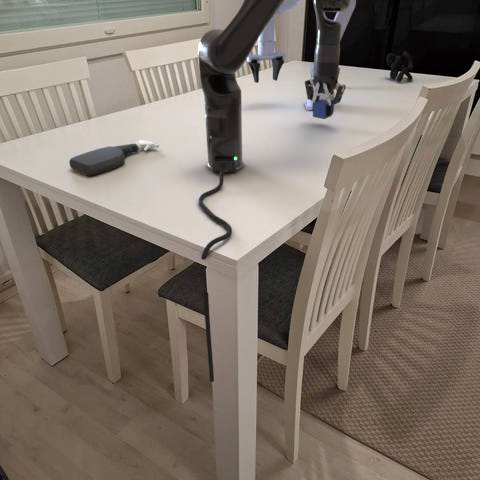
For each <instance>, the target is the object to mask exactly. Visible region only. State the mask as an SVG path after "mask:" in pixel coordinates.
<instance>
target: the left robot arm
mask: <svg viewBox="0 0 480 480" xmlns="http://www.w3.org/2000/svg"><path fill="white" fill-rule="evenodd" d="M283 1H284V0H243V2H242V4H241V6H240V7H239V10H238V11H237V13H236V14H235V16H234V17H233V18H232V19H231V21H230V22H229V23H228V24H227V26H226V27H225V28H224V29H220V28H214V29H213V28H212V29H209V30H208V31H206V32H205V33H204V34H203V35H202V37H201V38H200V40H199V43H198V47H197V48H198V50H197V58H198V69H199V80H200V88H201V90H202V94H203V98H204V100H203V101H204V116H205V117H204V118H205V133H206V134H205V135H206V151H207V152H206V153H207V168H208V169H209V170H211V172H212V173H219V183H218V184H217V186H216V187H214V188H212V189H209V190H208V191H207V190H206V191H205V192H203V193H202V194H201V195H200V196H199V197H198V204H199V206H200V208H201V209H202V210H203V211H204V212H205V213H206V214H207V215H208V216H209V217H210V218H211V220H214V221H215V222H217V223H219V224H220V225H222V226H224V227H225V228H226V233H224V234H223V235H222V234H221V235H219V236H218V237H215V238H213V239H212V240H210V241H209V242H208V243H207V244H206V245H205V247H204V249H203V251H202V254H201V260H203V261H205V260H206V259H207V257H208V254H209V251H210V250H211V249H212V247H214V246H215V245H216V244H218V243H220V242H222V241H225V240H227V239H228V238H230V237H231V236H232V234H233V233H232V232H233V229H232V226H231V225H230V223H228V222H227V221H226V220H224V219H222V218H221V217H219V216H218V215H215V213H213V212H212V211H211V210H210V209H209V208H208V207H207V205H205V203H204V199H205V198H206V197H208V196H210V195H213V194H215V193H217V192H218V191H220V190H221V189H222V187H223V185H224V175H225V173H237V171H239V170H240V169H242V168H243V166H244V162H243V161H244V160H243V114H242V113H243V109H242V108H243V106H242V105H243V104H242V103H243V102H242V101H243V100H242V99H243V98H242V96H243V95H242V89H241V87H240V86H239V84H238V81H237V78H236V73H237V72H238V71H240V69H241V68H242V67H243V65H244V64H245V63H246V62H247V58H248V56H249V55H251V52H252V50H253V49H254V47H255V45H256V44H257V43H258V38H259V36H260V35H261V33H262V31H263V30H264V28H265V27H266V25H267V24H268V23H269V21H270V20H271V18H272V17H273V16H274V14H275V13H276V11H277V10H278V8H279V7H280V6H281V4H282V3H283ZM350 1H351V0H312V2H313V9H314V12H315V18H316V19H315V20H316V41H315V49H314V56H313V57H314V58H313V59H314V60H313V63H314V72H313V74H314V77H313V79H312V80H311V78H310V79H307V80H305V81H304V85H305V92H306V93H305V94H306V98H308V100H311V101H312V102H313V105H314V102H316V101H318V100H319V99H320V96H321V94H322V93H323V94H325V95H326V98H327V102H328V105H327V117H328V118H330V117H332V116H333V114H334V110H335V105H338V104H339V103H341V100H342V98H343V96H344V93H345V90H346V88H347V86H346V84H341V83H340V82H339V79H338V80H337V76H338V68H339V69H340V58H341V57H340V56H341V40H340V37H341V23H340V22H338V21H334V19H330V18H328V17H327V16H326V13H337V12H342V11H344V10H346V9H347V8H348V6H349V4H350ZM313 85H314V86H315V90H313ZM335 91H336V93H335ZM311 112H313V107H312V110H311ZM209 297H210V296H209V292H208V291H205V290H203V308H204V322H205V323H204V325H205V339H206V349H207V358H208V361H207V362H208V373H209V382H210V383H213V382H214V381H215V375H214V374H215V373H214V359H213V348H212V333H211V332H212V331H211V319H210V318H211V317H210V301H209V300H210V298H209Z"/></svg>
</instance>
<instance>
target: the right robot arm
mask: <svg viewBox="0 0 480 480" xmlns="http://www.w3.org/2000/svg"><path fill="white" fill-rule="evenodd" d="M299 1H300V0H284V1H283V3H282V4H281V6H280V7H279V8H278V10H277V11H276V13H275V14H274V16H273V17H272V18H271V20H270V21H269V23H268V24H267V25H266V27H265V28H264V30H263V31H262V33H261V35H260V36H259V38H258V40H257V53H254V54H249V56H248V58H247V59H246V62H247V64H248V66H249V69H250V71H251V73H252V78H253V82H254V83H256V84H259V81H260V67H261V63H259V62H261V61H271V64H272V80H273V81H277V82H278V78H279V74H280V71H281V69H282V67H283V65H284V63H285V60H284V59H286V52H284V51H278V52H275V43H276V41H275V37H276V35H275V33H276V26H275V17H276V16H281V15H283V14H285V13H287V12H288V11H291V10H293V9H295V8H296V7H297V5H298V2H299ZM356 4H357V0H351V1H350V4H349V6H348V8H347V9H346V10H344V11H342V12H336V14H335V17H334V19H333V20H334V21H338V22H340V23H341V37H340V41H341V40H342V38H343V36H344V33H345V31H346V29H347V26H348V24H349V22H350V19H351V17H352V15H353V12H354V11H355V8H356ZM313 72H314V62H313V63H312V64H311V65H310V67H309V74H310V79H311V80H312V79H313V77H314V74H313ZM313 90H315V86H314V85H313ZM306 98H307V97H306ZM321 99H323V100H327V98H326V95H325V94H323V93H322V94H321V96H320V99H319V100H321ZM304 106H305V109H306V111H312V107H313V102H312V101H311V100H308V98H307V99H306V101H305V102H304Z"/></svg>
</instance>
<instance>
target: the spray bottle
mask: <svg viewBox="0 0 480 480" xmlns="http://www.w3.org/2000/svg"><path fill="white" fill-rule="evenodd" d="M159 148H160V145H159V144H158V143H155V142H151V141H148V140H144V139H139V140H138V141H137V142H135V143H129V144H128V143H126V144H122V145H113V146H105V147H100V148H97V149H94V150H90V151H87V152H83V153H81V154H78V155H74V156H73V157H70V159H69V161H68V162H69V167H70V168H71V169H72V170H74V171H75V172H78V173H81V174H83V175H85V176H89V177H90V176H91V177H92V176H95V175H99V174H102V173H105V172H107V171H110V170H113V169H116V168H118V167H120V166H122V165H123V164H124V163H125V158H126V156H127V155H131V154H133V153H138V151H140V150H143V151H144V152H146V151H147V150H149V149H159Z"/></svg>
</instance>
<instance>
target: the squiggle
mask: <svg viewBox="0 0 480 480" xmlns="http://www.w3.org/2000/svg"><path fill="white" fill-rule="evenodd" d="M401 57H402V59H401ZM391 59H392V60H391ZM393 60H394V61H393ZM385 61H386V64H387V67H390V68H391V70H390V72H389V78H390V79H391V80H395V79H396V81H397V82H399V83H400V82H402V81H403V79H404V76H406V78H407V80H408V81H412V80H413V79H414V77H413V75H412V74H411V73H410V72H409V71H410V70H412V69H413V68H414V64H413V61H412V57H411V54H410V53H409V52H408V51H403V53H402V54H401V55H396V54H394V53H392V52H390V53H387V55H386V57H385ZM406 62H407V65H408V66H407V67H405V66H404V65H405V64H406ZM400 70H401V71H400Z"/></svg>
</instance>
